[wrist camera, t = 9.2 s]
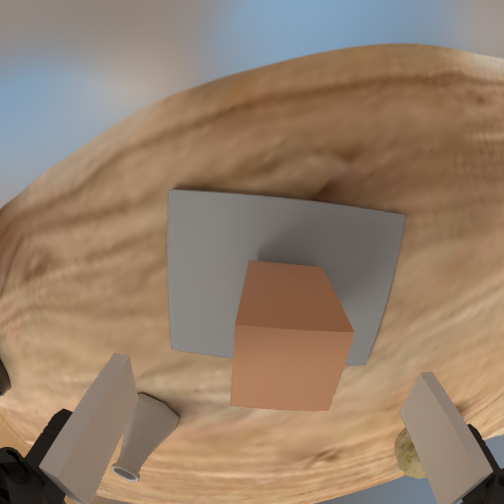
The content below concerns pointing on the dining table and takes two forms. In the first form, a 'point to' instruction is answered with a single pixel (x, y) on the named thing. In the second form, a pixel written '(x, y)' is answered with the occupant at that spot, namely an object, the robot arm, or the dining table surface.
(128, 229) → the dining table surface
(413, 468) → the decorative object
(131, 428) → the flask
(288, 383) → the peach square-faced block
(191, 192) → the grey flat base
